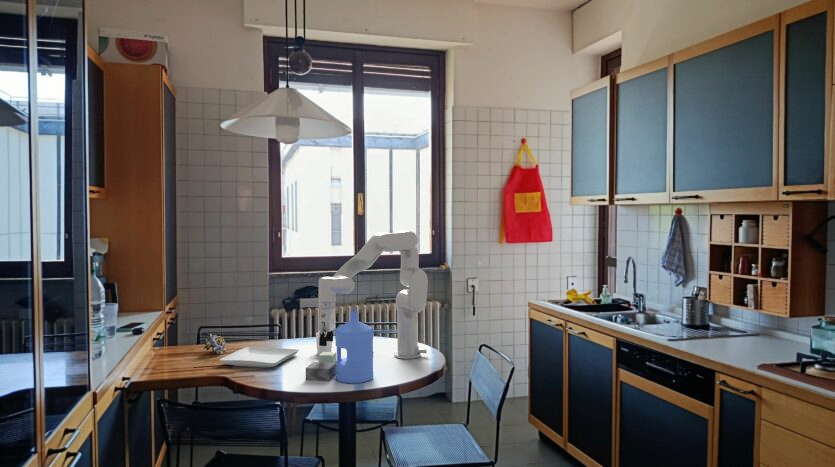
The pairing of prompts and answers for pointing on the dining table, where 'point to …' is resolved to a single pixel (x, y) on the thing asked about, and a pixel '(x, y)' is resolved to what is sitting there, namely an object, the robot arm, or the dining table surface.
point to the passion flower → (215, 344)
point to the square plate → (259, 356)
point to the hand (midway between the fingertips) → (326, 343)
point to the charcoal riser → (320, 371)
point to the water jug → (354, 351)
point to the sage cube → (327, 357)
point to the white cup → (323, 348)
